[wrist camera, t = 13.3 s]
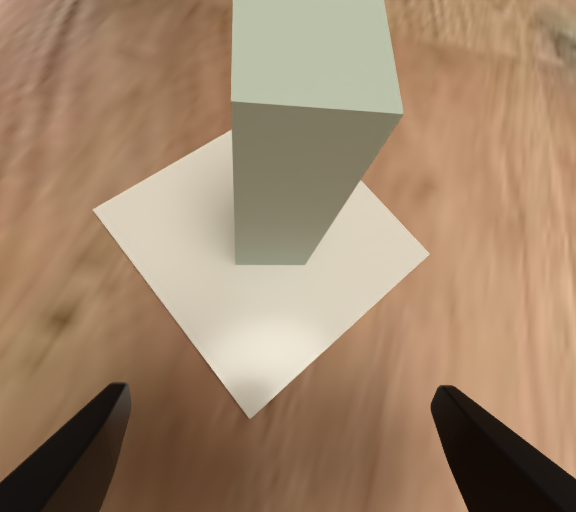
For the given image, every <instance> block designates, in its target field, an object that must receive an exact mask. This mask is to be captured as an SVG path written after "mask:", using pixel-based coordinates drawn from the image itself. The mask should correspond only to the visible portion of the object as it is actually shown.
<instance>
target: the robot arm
mask: <svg viewBox="0 0 576 512" xmlns="http://www.w3.org/2000/svg"><path fill="white" fill-rule="evenodd" d="M130 412H131V398H130V391H129V385H128V383H125V382H113V383H111V384H109V385H108V386H107V387H106V388H105V389H104V390H102V391H101V392H100V393H99V394H98V395H97V396H96V397H95V398H94V399H92V400H91V401H90V402H89V403H88V404H87V405H86V406H85V407H84V408H82V409H81V410H80V411H79V412H78V413H77V414H76V415H75V416H74V417H72V418H71V419H70V420H69V421H68V422H67V423H66V424H65V425H64V426H62V427H61V428H60V429H59V430H58V431H57V432H56V433H55V434H54V435H52V436H51V437H50V438H49V439H48V440H47V441H46V442H45V443H44V444H42V445H41V446H40V447H39V448H38V449H37V450H36V451H35V452H34V453H32V454H31V455H30V456H29V457H28V458H27V459H26V460H25V461H24V462H22V463H21V464H20V465H19V466H18V467H17V468H16V469H15V470H14V471H12V472H11V473H10V474H9V475H8V476H7V477H6V478H5V479H4V480H2V481H1V482H0V512H99V511H100V509H101V506H102V504H103V501H104V498H105V496H106V493H107V490H108V488H109V485H110V483H111V480H112V477H113V474H114V471H115V468H116V464H117V461H118V457H119V453H120V449H121V446H122V442H123V438H124V434H125V431H126V427H127V423H128V419H129V416H130ZM431 413H432V416H433V419H434V422H435V425H436V428H437V431H438V434H439V437H440V440H441V443H442V447H443V450H444V453H445V456H446V458H447V461H448V464H449V467H450V469H451V471H452V474H453V476H454V478H455V481H456V483H457V485H458V488H459V490H460V492H461V495H462V497H463V499H464V502H465V504H466V506H467V509H468V511H469V512H576V479H575V478H574V477H572V476H571V475H570V474H568V473H567V472H566V471H565V470H563V469H562V468H561V467H559V466H558V465H557V464H555V463H554V462H553V461H551V460H550V459H549V458H548V457H546V456H545V455H544V454H542V453H541V452H540V451H538V450H537V449H536V448H534V447H533V446H532V445H531V444H529V443H528V442H527V441H525V440H524V439H523V438H521V437H520V436H519V435H517V434H516V433H515V432H513V431H512V430H511V429H510V428H508V427H507V426H506V425H504V424H503V423H502V422H500V421H499V420H498V419H496V418H495V417H494V416H493V415H491V414H490V413H489V412H487V411H486V410H485V409H483V408H482V407H481V406H479V405H478V404H477V403H476V402H474V401H473V400H472V399H470V398H469V397H468V396H466V395H465V394H464V393H462V392H461V391H460V390H459V389H457V388H456V387H454V386H452V385H440V386H439V387H438V388H437V390H436V393H435V395H434V397H433V400H432V402H431Z"/></svg>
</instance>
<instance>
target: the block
mask: <svg viewBox="0 0 576 512" xmlns="http://www.w3.org/2000/svg"><path fill="white" fill-rule="evenodd" d="M402 116H403V108H402V102H401V96H400V91H399V85H398V79H397V73H396V68H395V62H394V56H393V50H392V45H391V39H390V33H389V27H388V22H387V16H386V10H385V4H384V0H233V27H232V75H231V120H232V155H233V190H234V224H235V259H236V265H305V264H306V263H307V261H308V260H309V258H310V257H311V255H312V254H313V252H314V251H315V249H316V248H317V246H318V244H319V243H320V241H321V240H322V238H323V237H324V235H325V234H326V232H327V231H328V229H329V228H330V226H331V225H332V223H333V221H334V220H335V218H336V217H337V215H338V214H339V212H340V211H341V209H342V208H343V206H344V205H345V203H346V202H347V200H348V198H349V197H350V195H351V194H352V192H353V191H354V189H355V188H356V186H357V185H358V183H359V182H360V180H361V179H362V177H363V175H364V174H365V172H366V171H367V169H368V168H369V166H370V165H371V163H372V162H373V160H374V159H375V157H376V156H377V154H378V152H379V151H380V149H381V148H382V146H383V145H384V143H385V142H386V140H387V139H388V137H389V136H390V134H391V133H392V131H393V130H394V128H395V126H396V125H397V123H398V122H399V120H400V119H401V117H402Z"/></svg>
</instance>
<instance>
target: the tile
mask: <svg viewBox="0 0 576 512" xmlns="http://www.w3.org/2000/svg"><path fill="white" fill-rule="evenodd" d="M93 211H94V212H95V213H96V215H97V216H98V217H99V219H100V220H101V221H102V223H103V224H104V225H105V227H106V228H107V229H108V231H109V232H110V233H111V235H112V236H113V237H114V239H115V240H116V241H117V243H118V244H119V245H120V247H121V248H122V249H123V251H124V252H125V253H126V255H127V256H128V257H129V259H130V260H131V261H132V263H133V264H134V265H135V267H136V268H137V269H138V271H139V272H140V273H141V275H142V276H143V277H144V279H145V280H146V281H147V283H148V284H149V285H150V287H151V288H152V289H153V291H154V292H155V293H156V295H157V296H158V297H159V299H160V300H161V301H162V303H163V304H164V305H165V307H166V308H167V309H168V311H169V312H170V313H171V315H172V316H173V317H174V319H175V320H176V321H177V323H178V324H179V325H180V327H181V328H182V329H183V331H184V332H185V334H186V335H187V336H188V338H189V339H190V340H191V342H192V343H193V344H194V346H195V347H196V348H197V350H198V351H199V352H200V354H201V355H202V356H203V358H204V359H205V360H206V362H207V363H208V364H209V366H210V367H211V368H212V370H213V371H214V372H215V374H216V375H217V376H218V378H219V379H220V380H221V382H222V383H223V384H224V386H225V387H226V388H227V390H228V391H229V392H230V394H231V395H232V396H233V398H234V399H235V400H236V402H237V403H238V404H239V406H240V407H241V408H242V410H243V411H244V412H245V414H246V415H247V416H248V418H249V419H251V418H252V417H253V416H254V415H255V414H256V413H257V412H258V411H259V410H260V409H262V408H263V407H264V406H265V405H266V404H267V403H268V402H269V401H270V400H271V399H272V398H273V397H275V396H276V395H277V394H278V393H279V392H280V391H281V390H282V389H283V388H284V387H285V386H287V385H288V384H289V383H290V382H291V381H292V380H293V379H294V378H295V377H296V376H297V375H299V374H300V373H301V372H302V371H303V370H304V369H305V368H306V367H307V366H308V365H309V364H310V363H312V362H313V361H314V360H315V359H316V358H317V357H318V356H319V355H320V354H321V353H322V352H324V351H325V350H326V349H327V348H328V347H329V346H330V345H331V344H332V343H333V342H334V341H336V340H337V339H338V338H339V337H340V336H341V335H342V334H343V333H344V332H345V331H346V330H348V329H349V328H350V327H351V326H352V325H353V324H354V323H355V322H356V321H357V320H358V319H359V318H361V317H362V316H363V315H364V314H365V313H366V312H367V311H368V310H369V309H370V308H371V307H373V306H374V305H375V304H376V303H377V302H378V301H379V300H380V299H381V298H382V297H383V296H385V295H386V294H387V293H388V292H389V291H390V290H391V289H392V288H393V287H394V286H395V285H397V284H398V283H399V282H400V281H401V280H402V279H403V278H404V277H405V276H406V275H407V274H408V273H410V272H411V271H412V270H413V269H414V268H415V267H416V266H417V265H418V264H419V263H420V262H422V261H423V260H424V259H425V258H426V257H427V256H428V255H429V253H428V252H427V250H426V249H425V248H424V247H423V246H422V245H421V244H420V243H419V242H418V241H417V240H416V239H415V238H414V237H413V236H412V234H411V233H410V232H409V231H408V230H407V229H406V228H405V227H404V226H403V225H402V224H401V223H400V222H399V221H398V219H397V218H396V217H395V216H394V215H393V214H392V213H391V212H390V211H389V210H388V209H387V208H386V207H385V206H384V205H383V203H382V202H381V201H380V200H379V199H378V198H377V197H376V196H375V195H374V194H373V193H372V192H371V191H370V190H369V189H368V187H367V186H366V185H365V184H364V183H363V182H362V181H361V180H360V182H359V183H358V185H357V186H356V188H355V189H354V191H353V192H352V194H351V195H350V197H349V198H348V200H347V202H346V203H345V205H344V206H343V208H342V209H341V211H340V212H339V214H338V215H337V217H336V218H335V220H334V221H333V223H332V225H331V226H330V228H329V229H328V231H327V232H326V234H325V235H324V237H323V238H322V240H321V241H320V243H319V244H318V246H317V248H316V249H315V251H314V252H313V254H312V255H311V257H310V258H309V260H308V261H307V263H306V264H305V265H236V259H235V224H234V190H233V155H232V130H230V131H228V132H227V133H225V134H223V135H222V136H220V137H218V138H216V139H215V140H213V141H211V142H209V143H208V144H206V145H204V146H202V147H201V148H199V149H197V150H195V151H194V152H192V153H190V154H189V155H187V156H185V157H183V158H182V159H180V160H178V161H176V162H175V163H173V164H171V165H169V166H168V167H166V168H164V169H162V170H161V171H159V172H157V173H155V174H154V175H152V176H150V177H149V178H147V179H145V180H143V181H142V182H140V183H138V184H136V185H135V186H133V187H131V188H129V189H128V190H126V191H124V192H122V193H121V194H119V195H117V196H116V197H114V198H112V199H110V200H109V201H107V202H105V203H103V204H102V205H100V206H98V207H96V208H95V209H93Z"/></svg>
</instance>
